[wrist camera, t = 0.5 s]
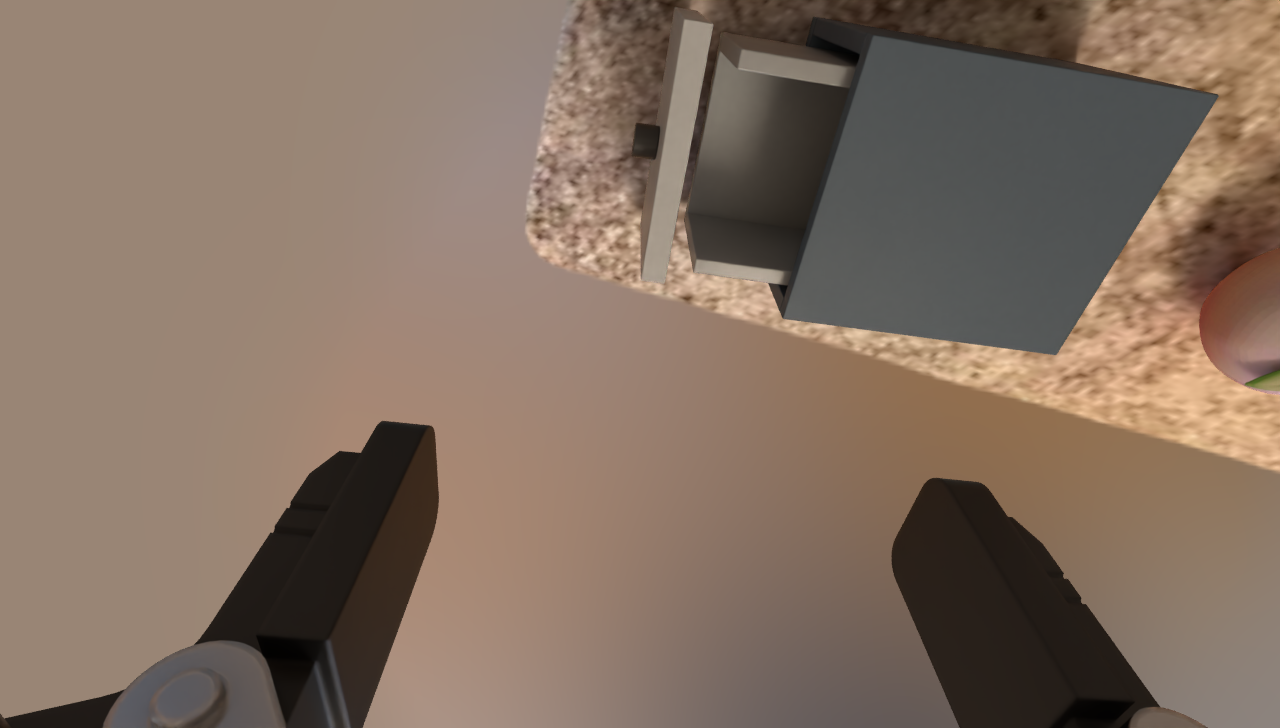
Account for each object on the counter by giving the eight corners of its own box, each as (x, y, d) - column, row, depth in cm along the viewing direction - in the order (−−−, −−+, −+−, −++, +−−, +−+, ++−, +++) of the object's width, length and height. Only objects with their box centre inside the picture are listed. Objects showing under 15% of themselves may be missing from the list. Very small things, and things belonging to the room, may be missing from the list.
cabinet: (752, 244, 38) (782, 319, 30) (813, 16, 31) (873, 34, 23) (971, 275, 39) (1056, 355, 31) (1076, 62, 32) (1220, 95, 24)
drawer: (620, 221, 36) (616, 277, 30) (650, 2, 30) (653, 13, 24) (855, 255, 37) (901, 316, 31) (931, 51, 31) (1008, 74, 25)
